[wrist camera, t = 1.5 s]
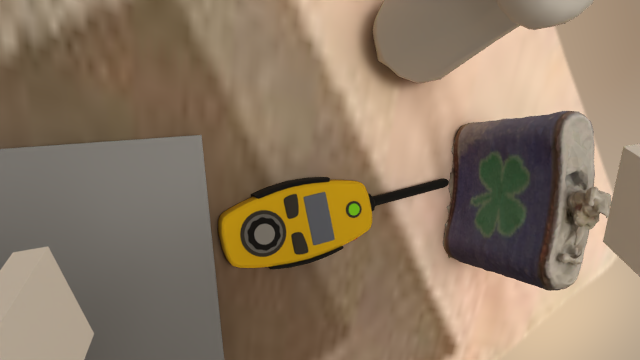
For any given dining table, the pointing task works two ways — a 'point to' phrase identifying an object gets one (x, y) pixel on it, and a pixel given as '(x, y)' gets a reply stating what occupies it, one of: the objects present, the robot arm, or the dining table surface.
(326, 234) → the yellow walkie-talkie
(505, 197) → the flask
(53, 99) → the dining table surface
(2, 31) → the dining table surface
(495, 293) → the dining table surface
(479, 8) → the salt shaker
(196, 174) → the plate
